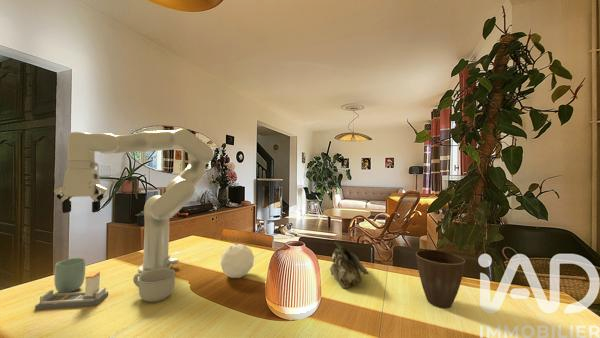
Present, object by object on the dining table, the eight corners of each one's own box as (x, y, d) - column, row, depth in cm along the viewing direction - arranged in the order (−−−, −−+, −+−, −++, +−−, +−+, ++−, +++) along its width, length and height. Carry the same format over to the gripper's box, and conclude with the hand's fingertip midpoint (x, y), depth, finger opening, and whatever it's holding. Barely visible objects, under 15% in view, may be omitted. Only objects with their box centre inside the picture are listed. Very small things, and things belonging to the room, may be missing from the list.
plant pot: (446, 319, 77) (447, 266, 77) (405, 297, 90) (406, 252, 91) (474, 308, 84) (474, 260, 84) (432, 289, 97) (433, 248, 98)
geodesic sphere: (235, 274, 92) (249, 238, 100) (206, 267, 97) (221, 234, 105) (252, 285, 103) (263, 253, 111) (224, 279, 108) (237, 248, 116)
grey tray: (108, 295, 86) (108, 285, 86) (96, 305, 79) (96, 295, 79) (52, 298, 82) (53, 288, 82) (34, 309, 75) (35, 299, 76)
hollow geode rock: (340, 274, 122) (319, 250, 123) (360, 256, 121) (338, 232, 123) (346, 302, 94) (319, 270, 95) (372, 279, 93) (344, 247, 95)
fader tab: (100, 292, 84) (101, 271, 84) (93, 298, 80) (94, 276, 80) (90, 293, 83) (91, 271, 83) (82, 299, 79) (83, 276, 79)
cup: (65, 297, 83) (67, 266, 84) (47, 294, 85) (49, 264, 85) (89, 287, 91) (91, 259, 91) (72, 284, 92) (73, 257, 93)
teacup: (181, 293, 88) (182, 270, 88) (154, 309, 78) (155, 283, 78) (151, 286, 93) (152, 264, 93) (122, 300, 82) (123, 275, 83)
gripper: (113, 166, 98) (113, 210, 98) (63, 165, 96) (63, 210, 96) (100, 166, 91) (100, 213, 91) (46, 165, 89) (46, 214, 89)
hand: (81, 212), depth 94 cm, fingers open, 9 cm apart
